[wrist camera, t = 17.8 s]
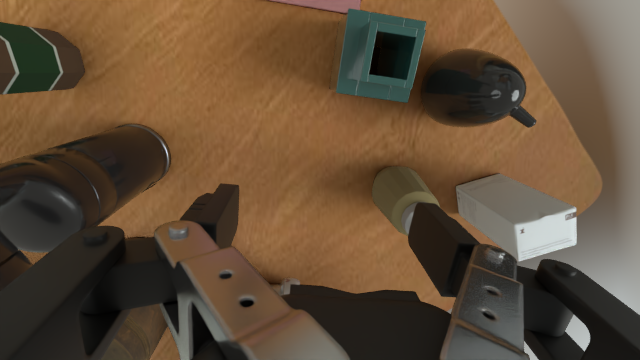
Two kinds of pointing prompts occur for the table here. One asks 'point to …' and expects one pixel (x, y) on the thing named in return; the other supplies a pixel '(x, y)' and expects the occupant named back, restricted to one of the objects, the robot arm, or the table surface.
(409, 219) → the squeeze bottle
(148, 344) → the wooden container
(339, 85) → the green square vase
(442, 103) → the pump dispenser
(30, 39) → the beer bottle
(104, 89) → the table surface
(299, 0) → the place mat
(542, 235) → the cosmetic box
